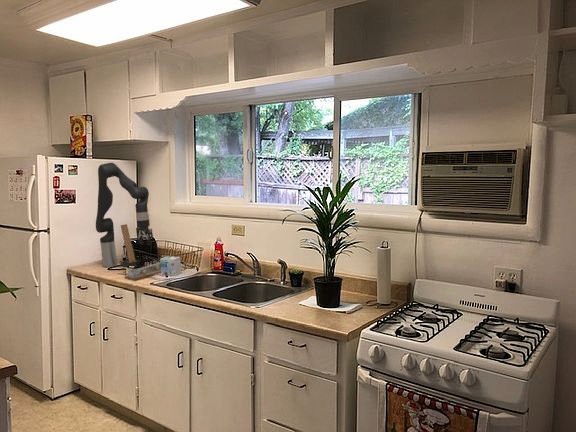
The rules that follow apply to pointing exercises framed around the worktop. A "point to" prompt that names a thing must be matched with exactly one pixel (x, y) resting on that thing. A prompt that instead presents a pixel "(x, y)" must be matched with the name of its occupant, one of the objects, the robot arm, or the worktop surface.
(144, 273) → the tool board
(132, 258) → the hammer
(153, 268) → the spanner
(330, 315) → the worktop surface
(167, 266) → the light bulb box
